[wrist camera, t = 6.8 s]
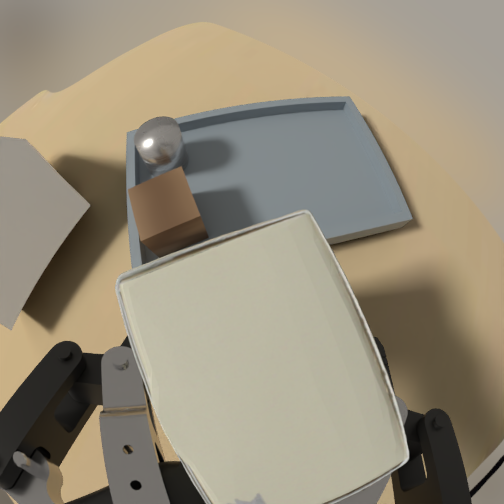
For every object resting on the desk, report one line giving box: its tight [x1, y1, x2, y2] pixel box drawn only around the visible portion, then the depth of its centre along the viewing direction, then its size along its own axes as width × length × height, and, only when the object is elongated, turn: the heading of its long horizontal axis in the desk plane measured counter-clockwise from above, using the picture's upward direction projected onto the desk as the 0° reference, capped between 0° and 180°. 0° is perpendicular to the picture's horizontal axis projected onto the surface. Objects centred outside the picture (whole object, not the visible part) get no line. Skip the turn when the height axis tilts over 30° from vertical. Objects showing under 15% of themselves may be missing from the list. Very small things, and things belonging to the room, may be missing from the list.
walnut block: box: [128, 166, 209, 258], centre depth 19 cm, size 4×4×4 cm
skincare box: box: [115, 209, 409, 504], centre depth 10 cm, size 6×4×12 cm
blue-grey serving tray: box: [126, 97, 413, 269], centre depth 22 cm, size 22×14×3 cm, turn 103°
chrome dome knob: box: [134, 117, 189, 177], centre depth 20 cm, size 4×4×4 cm
